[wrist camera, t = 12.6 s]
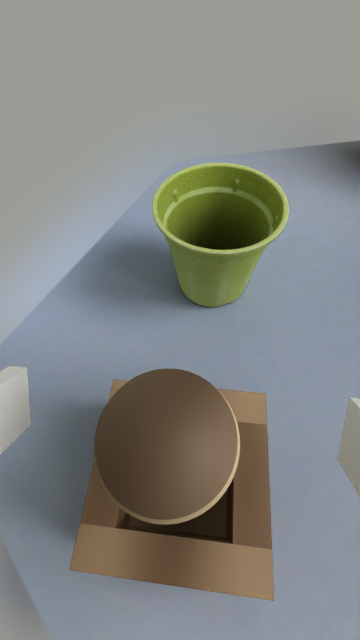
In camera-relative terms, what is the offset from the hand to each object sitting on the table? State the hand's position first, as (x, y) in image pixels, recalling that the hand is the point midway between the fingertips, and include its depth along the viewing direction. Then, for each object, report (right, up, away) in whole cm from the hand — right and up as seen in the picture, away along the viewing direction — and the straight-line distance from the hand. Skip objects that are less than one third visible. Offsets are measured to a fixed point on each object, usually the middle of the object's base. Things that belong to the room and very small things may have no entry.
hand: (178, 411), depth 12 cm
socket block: (0, -7, +7) cm, 10 cm away
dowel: (0, -6, +6) cm, 8 cm away
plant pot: (+3, +7, +16) cm, 18 cm away
